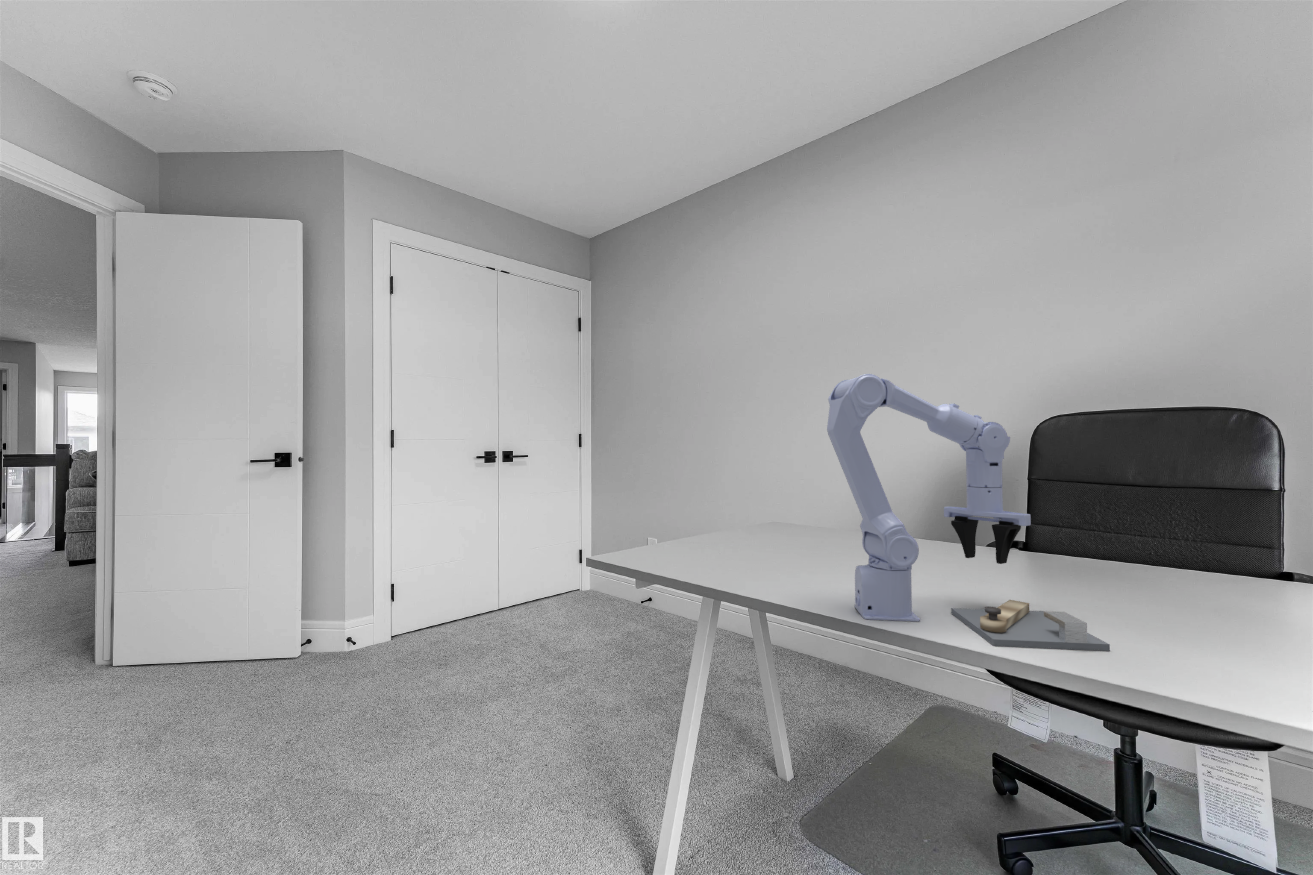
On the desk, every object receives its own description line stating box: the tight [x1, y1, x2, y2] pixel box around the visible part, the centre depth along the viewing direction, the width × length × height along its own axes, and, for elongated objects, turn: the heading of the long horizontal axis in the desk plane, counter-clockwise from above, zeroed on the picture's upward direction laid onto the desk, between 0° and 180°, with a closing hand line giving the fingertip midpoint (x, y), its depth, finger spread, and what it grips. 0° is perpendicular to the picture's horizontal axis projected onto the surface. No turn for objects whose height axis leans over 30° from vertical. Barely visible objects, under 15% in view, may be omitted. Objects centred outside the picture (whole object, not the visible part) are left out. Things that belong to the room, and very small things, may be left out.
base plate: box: [950, 607, 1111, 652], centre depth 88 cm, size 16×16×1 cm
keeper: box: [1043, 610, 1088, 643], centre depth 82 cm, size 3×6×3 cm, turn 172°
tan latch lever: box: [980, 599, 1030, 633], centre depth 90 cm, size 16×4×3 cm, turn 132°
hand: (985, 560), depth 98 cm, fingers open, 5 cm apart
